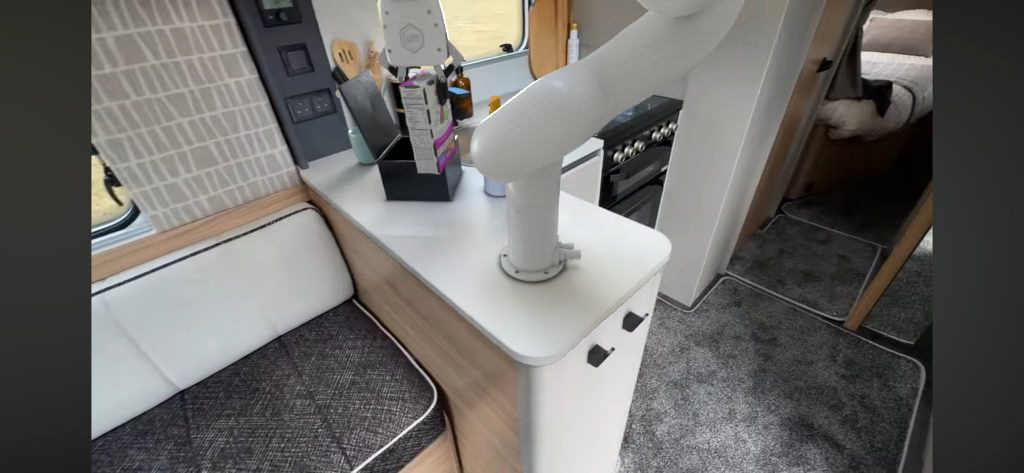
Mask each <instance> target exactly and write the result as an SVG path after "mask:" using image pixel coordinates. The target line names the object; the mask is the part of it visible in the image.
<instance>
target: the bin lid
mask: <svg viewBox="0 0 1024 473" xmlns="http://www.w3.org/2000/svg"><path fill="white" fill-rule="evenodd" d="M336 89H337V90H335V96H336V98H338V99H342V100H343V102H344V104H345V106H346V108H347V109H348V112H349V114H350V116H351V117H352V120H353V121H354V123H355V125H356V127H358V129H359V131H360V133H361V135H362V137H363V139H364V140H365V142H366V144H367V146H368V148H369V150H370V152H371V154H372V156H373V158H374V160H378V159H380V158H379V157H381V156H382V155H383V154H384V153H385V152H386V150H387V149H388V148H389V147H390V146H391V144H392V143H393V142H394V141H395V140H396V139H397V137H398V136H400V131H399V130H398V128H397V125H396V123H395V121H394V119H393V117H392V114H391V113H390V110H389V108H388V105H387V103H386V101H385V99H384V97H383V95H382V93H381V91H380V89H379V86H378V84H377V82H376V80H375V77H374V75H373V73H372V71H371V68H367V69H364V71H362V72H360V73H359V74H357V75H355V76H353V77H352V78H350V79H349V80H347V81H345V82H343V83H341V84H340V85H339V86H337V87H336Z"/></svg>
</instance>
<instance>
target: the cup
mask: <svg viewBox="0 0 1024 473" xmlns="http://www.w3.org/2000/svg"><path fill="white" fill-rule="evenodd" d="M347 135H348V138H349V141H350V145H351V148H352V151H353V153H354V156H355V157H356V159H357V161H358V162H360V163H361V164H364V165H371V164H374V163H377V161H378V160H379V159H380V157H381V156H380V157H379V159H378V160H374V158H373V156H372V154H371V152H370V150H369V148H368V146H367V144H366V142H365V140H364V139H363V137H362V135H361V133H360V131H359V129H358V127H357V126H354V127H351V128H349V130H348V131H347Z"/></svg>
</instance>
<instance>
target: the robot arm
mask: <svg viewBox="0 0 1024 473" xmlns="http://www.w3.org/2000/svg"><path fill="white" fill-rule="evenodd" d="M636 1H637V2H638V3H639V4H640V5H641V6H642V7H643V8H644V9H646V10H647V12H645V13H644V15H642V16H641V17H639V18H637V20H635V21H634V22H632V23H631V24H629V25H628V26H626V27H625V28H624V29H622V30H621V31H620V32H618V34H616V35H614V37H613V38H611V39H610V40H608V41H607V42H605V44H603V45H601V46H600V47H599V48H597V49H596V50H594V51H593V52H591V53H589V54H588V55H587V56H584V57H583V58H581V59H580V60H577V61H574V62H572V63H569V64H567V65H564V66H563V67H560V68H558V69H556V70H554V71H551V72H549V73H547V74H546V75H543V76H541V77H540V78H538V79H537V80H535V81H533V82H532V83H530V84H529V85H527V86H526V87H524V89H522V90H521V91H519V92H518V93H517V94H516V95H515V96H513V97H512V98H511V99H509V100H508V101H507V102H505V103H504V104H503V105H502V107H500V108H499V109H498V110H496V111H495V112H494V113H492V114H491V115H490V116H489V115H488V116H487V117H486V118H485V119H483V120H482V121H481V122H479V124H478V125H477V126H476V128H475V129H474V131H473V133H472V135H471V140H470V145H469V148H470V149H469V150H470V151H469V152H470V157H471V161H472V164H473V165H474V168H476V170H477V171H478V173H479V174H480V175H482V176H483V178H484V177H486V178H487V179H489V180H492V181H495V182H499V183H505V189H506V195H505V205H506V206H505V207H506V229H507V230H506V231H507V244H508V245H507V246H505V248H503V250H502V252H501V254H500V264H501V267H502V269H503V270H504V272H505V273H507V274H508V275H509V276H511V277H513V278H514V279H517V280H520V281H525V282H540V281H541V282H542V281H545V280H549V279H551V278H553V277H555V276H556V275H558V274H559V273H560V272H561V271H562V269H563V268H564V265H565V260H581V259H582V250H581V249H574V248H575V243H574V242H565V243H564V242H562V241H559V240H560V239H559V215H560V214H559V213H560V212H559V211H560V196H561V195H560V194H561V179H562V169H563V163H564V159H565V158H564V157H566V156H567V155H569V154H571V153H572V152H574V151H576V150H578V149H579V148H580V147H582V146H583V145H584V144H586V143H587V142H588V141H590V140H591V139H592V138H593V137H594V136H595V135H596V134H598V133H599V132H600V131H602V129H604V128H605V127H606V126H607V125H608V124H609V123H610V122H611V121H612V120H614V119H615V118H617V117H619V116H620V115H621V114H623V113H624V112H626V111H628V110H630V109H631V108H633V107H635V106H637V105H639V104H640V103H642V102H644V101H646V100H647V99H649V98H650V97H652V96H654V95H655V94H657V93H658V92H660V91H662V90H664V89H665V88H667V87H668V86H670V85H672V84H674V83H675V82H677V81H678V80H680V79H681V78H683V77H684V76H686V75H688V73H690V72H691V71H693V70H694V69H695V68H696V67H698V65H700V64H701V63H702V62H704V61H705V60H706V59H707V58H708V57H709V56H710V55H711V53H713V52H714V50H716V48H718V46H719V45H720V44H721V43H722V41H723V40H724V39H725V37H726V36H727V35H728V33H729V32H730V31H731V29H732V27H733V26H734V24H735V22H736V21H737V19H738V17H739V16H740V13H741V11H742V10H743V7H744V4H745V1H746V0H636ZM379 2H380V3H379V4H380V19H381V20H380V21H381V29H382V38H383V43H384V47H383V48H382V50H381V53H380V54H379V56H378V58H377V60H376V61H377V63H378V65H380V66H381V67H382V68H384V69H385V70H387V71H388V72H389V74H391V75H392V77H394V78H395V79H396V80H397V83H399V84H400V85H402V84H403V83H404V82H406V81H407V80H409V79H410V78H411V77H410V69H411V68H410V67H433V70H435V71H436V74H437V76H438V83H437V89H438V96H439V103H440V105H441V106H444V105H445V103H446V102H447V99H449V98H450V91H449V83H448V78H450V76H451V75H452V73H453V72H454V71H455V70H456V69H457V68H458V67H459V66H460V65H461V64H462V63H463V61H464V60H465V57H464V55H463V54H462V52H460V51H459V49H458V48H457V47H456V46H455V44H453V43H452V42H451V40H450V38H449V34H448V33H449V32H448V28H447V23H446V18H445V14H444V11H443V5H442V3H441V0H379ZM450 57H451V58H452V61H450V62H449V64H448V65H447V67H446V64H445V62H446V61H447V60H448V59H449V58H450Z"/></svg>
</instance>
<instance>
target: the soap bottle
mask: <svg viewBox="0 0 1024 473" xmlns="http://www.w3.org/2000/svg"><path fill="white" fill-rule="evenodd" d="M490 99H491V100H490V101H489V102H488V104H487V105H488V107H490V109H489V110H488V117H489V116H490V115H491V114H492V113H494V112H495V111H496V110H498V109H499V108H500V107H502V106H503V105H502V103H501V99H502V96H500V95H492V96H490ZM483 186H484V190H485V192H486V193H487V194H488V195H490V196H494V197H504V196H505V197H506V189H505V183H499V182H495V181H492V180H489V179H487V178H486V177H484V176H483Z"/></svg>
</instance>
